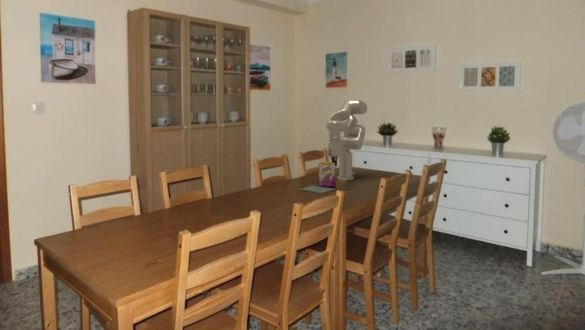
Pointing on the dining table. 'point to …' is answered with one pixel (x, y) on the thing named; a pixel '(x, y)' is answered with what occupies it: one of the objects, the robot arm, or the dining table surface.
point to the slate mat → (317, 189)
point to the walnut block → (341, 184)
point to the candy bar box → (326, 174)
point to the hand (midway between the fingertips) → (334, 166)
